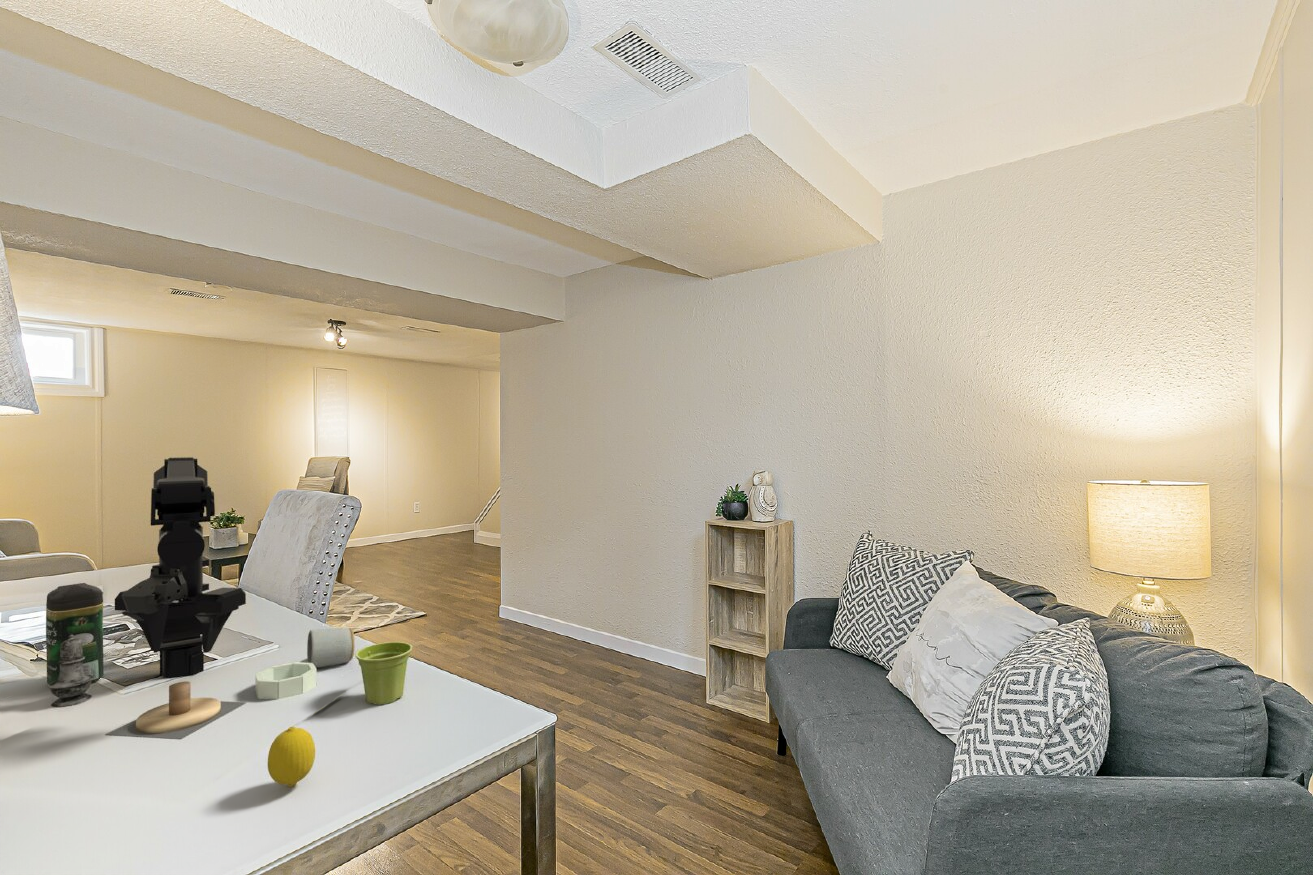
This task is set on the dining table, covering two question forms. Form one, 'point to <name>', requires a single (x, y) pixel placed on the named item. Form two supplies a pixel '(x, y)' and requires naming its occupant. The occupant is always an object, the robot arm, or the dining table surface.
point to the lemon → (291, 756)
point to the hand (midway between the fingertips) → (181, 651)
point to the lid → (178, 711)
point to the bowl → (285, 680)
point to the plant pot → (384, 670)
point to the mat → (180, 734)
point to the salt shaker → (71, 676)
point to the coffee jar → (75, 627)
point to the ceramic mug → (330, 646)
